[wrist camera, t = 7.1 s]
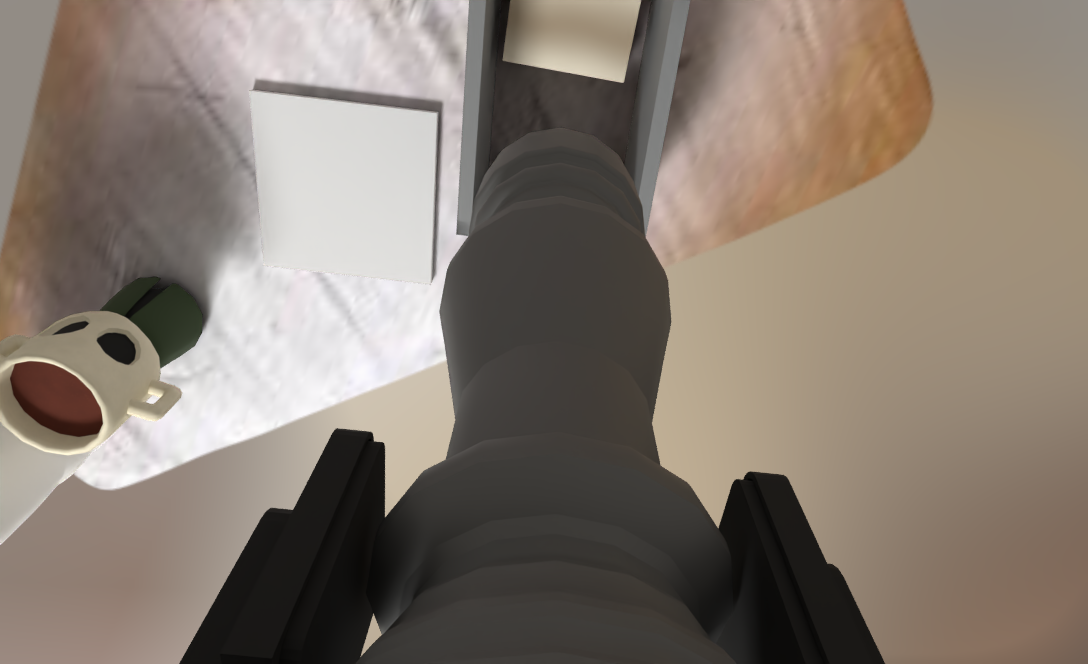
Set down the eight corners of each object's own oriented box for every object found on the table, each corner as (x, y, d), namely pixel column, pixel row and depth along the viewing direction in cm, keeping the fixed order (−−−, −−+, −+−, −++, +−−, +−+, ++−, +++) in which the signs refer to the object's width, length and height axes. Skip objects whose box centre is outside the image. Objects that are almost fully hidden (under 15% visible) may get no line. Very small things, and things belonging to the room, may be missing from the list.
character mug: (246, 298, 50) (150, 390, 38) (229, 374, 53) (135, 480, 41) (96, 244, 48) (-51, 324, 37) (87, 326, 51) (-51, 423, 40)
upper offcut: (520, -58, 37) (518, -61, 35) (643, -34, 38) (648, -35, 36) (505, 56, 40) (502, 60, 38) (620, 77, 41) (623, 82, 38)
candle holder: (477, 123, 25) (-222, 1266, 3) (644, 130, 25) (1341, 1347, 3) (478, 277, 28) (144, 1453, 6) (628, 284, 28) (900, 1494, 5)
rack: (493, -80, 39) (474, -99, 31) (674, -57, 39) (703, -69, 31) (475, 192, 46) (456, 234, 38) (628, 209, 46) (642, 255, 38)
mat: (252, 89, 43) (249, 90, 43) (438, 111, 44) (437, 113, 43) (266, 262, 49) (263, 265, 48) (431, 281, 49) (430, 284, 48)
